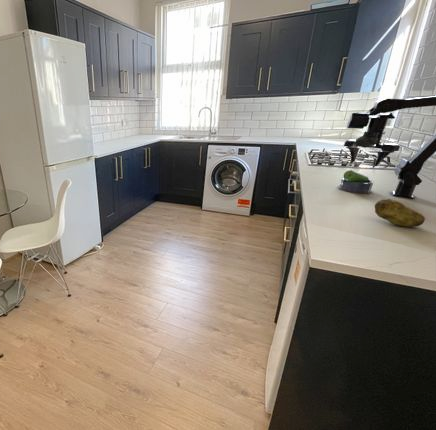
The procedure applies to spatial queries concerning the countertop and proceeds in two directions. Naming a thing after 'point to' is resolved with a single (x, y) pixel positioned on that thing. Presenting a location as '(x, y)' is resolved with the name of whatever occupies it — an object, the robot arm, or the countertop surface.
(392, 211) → the potato
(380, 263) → the countertop surface
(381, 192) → the countertop surface
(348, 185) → the blue bowl
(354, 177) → the courgette
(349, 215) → the countertop surface
